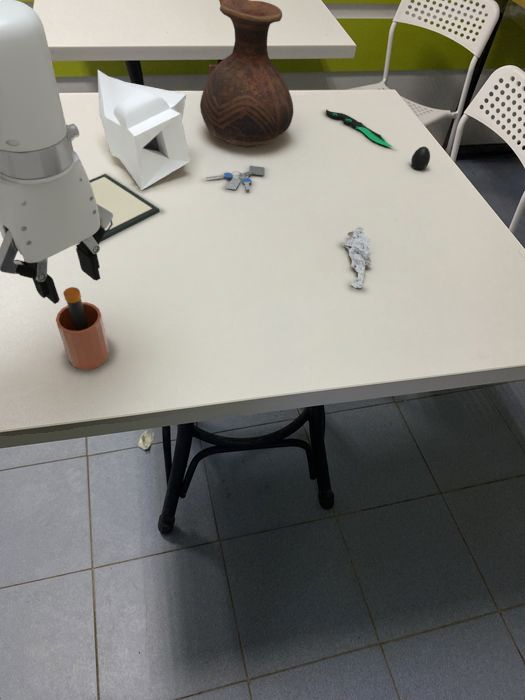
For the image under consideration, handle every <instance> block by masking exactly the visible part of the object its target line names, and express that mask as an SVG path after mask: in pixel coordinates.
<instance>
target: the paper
mask: <svg viewBox="0 0 525 700" xmlns="http://www.w3.org/2000/svg"><path fill="white" fill-rule="evenodd" d="M364 230H365V229H364V227H362V226H361V225H359V226H358V227H357V228H356V229H353V230H351V231H349V232H347V235H348V236H349V238H348V239H347V240H346V242H345V243H343V244H342V246H343V247H344V248H345V249H347V251H348V255H349V257H350V260H351V264H350V266H351V267H352V268H353V269H354V270H355V272H356V273H357V277H356V278H355V279H354V280H352V281H351V286H352V287H353V288H354V289H362V288H363V286H364V284H363V281H364V277H365V273H366V270H365V269H366V266H368V265H371V266H372V263H373V262H372V260H371V258H370V255H369V254H370V253H371V248H370V246H369V245H370V244H371V242H372V239H371V238H369V237H368V236H367V235H366V234H365V232H364Z"/></svg>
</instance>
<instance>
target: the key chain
mask: <svg viewBox="0 0 525 700" xmlns="http://www.w3.org/2000/svg"><path fill="white" fill-rule="evenodd" d="M248 169H249V170H248V171H245V172H240V171H238V170H237V171H235V170H234V171H232V172H224V173H223V174H221V175H214V176H206V177H205V179H206V180H207V179H215V178H216V179H217V178H226V179H231V180H230V181H229V183H228V185H227V186H226V189H228V190H235V191H237V188H238V187H239V185H240V183H242V184H244V188H245V191H250V189H251V188H250V184H251V183H252V179H251V178H249V177H250V176H253V175H256V176H257V175H258V176H264V175H265V174H264V173H265V167H264V166H257V165H250V166H249V168H248ZM234 173H239V174H238V175H237V176H238V178H239V179H238V178H234Z"/></svg>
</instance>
